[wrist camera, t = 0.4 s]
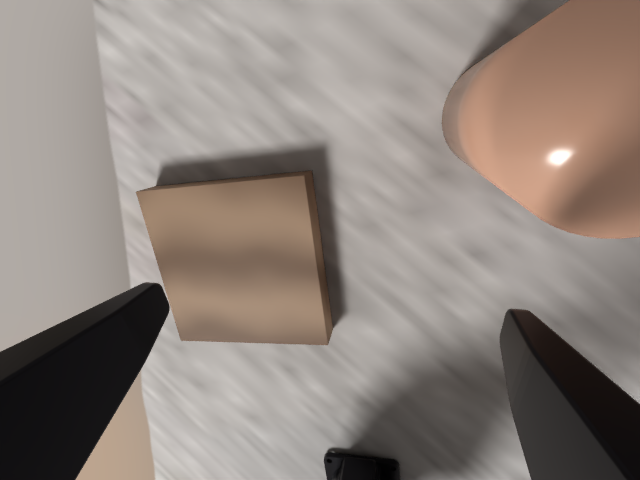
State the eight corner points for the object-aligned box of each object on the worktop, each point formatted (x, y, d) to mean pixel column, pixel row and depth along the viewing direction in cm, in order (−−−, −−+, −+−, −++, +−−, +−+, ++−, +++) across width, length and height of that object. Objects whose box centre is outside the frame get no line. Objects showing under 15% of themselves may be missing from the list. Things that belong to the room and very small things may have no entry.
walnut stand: (332, 328, 26) (327, 345, 24) (194, 326, 29) (180, 340, 27) (311, 170, 22) (304, 175, 20) (155, 186, 25) (136, 191, 23)
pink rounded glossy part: (556, 163, 19) (771, 232, 8) (442, 174, 20) (491, 243, 9) (567, 43, 17) (873, -89, 6) (441, 63, 18) (501, -11, 7)
